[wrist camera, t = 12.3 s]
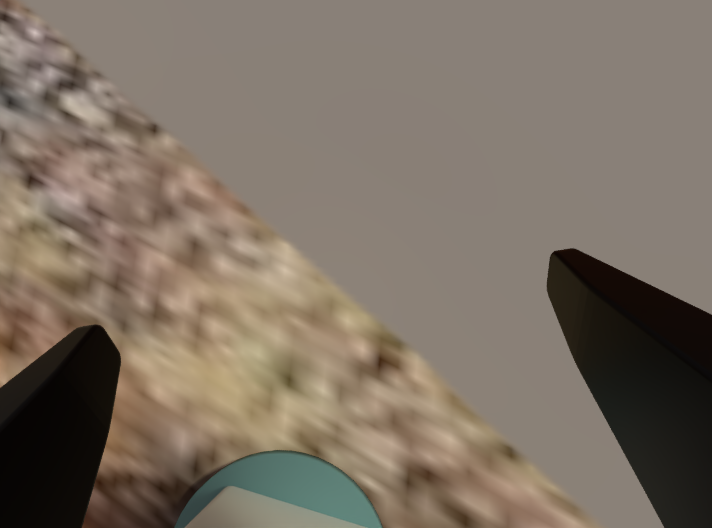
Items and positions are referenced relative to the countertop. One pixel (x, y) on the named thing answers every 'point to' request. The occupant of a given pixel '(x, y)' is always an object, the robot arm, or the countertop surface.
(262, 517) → the medicine bottle
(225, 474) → the coaster
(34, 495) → the robot arm
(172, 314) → the countertop surface
